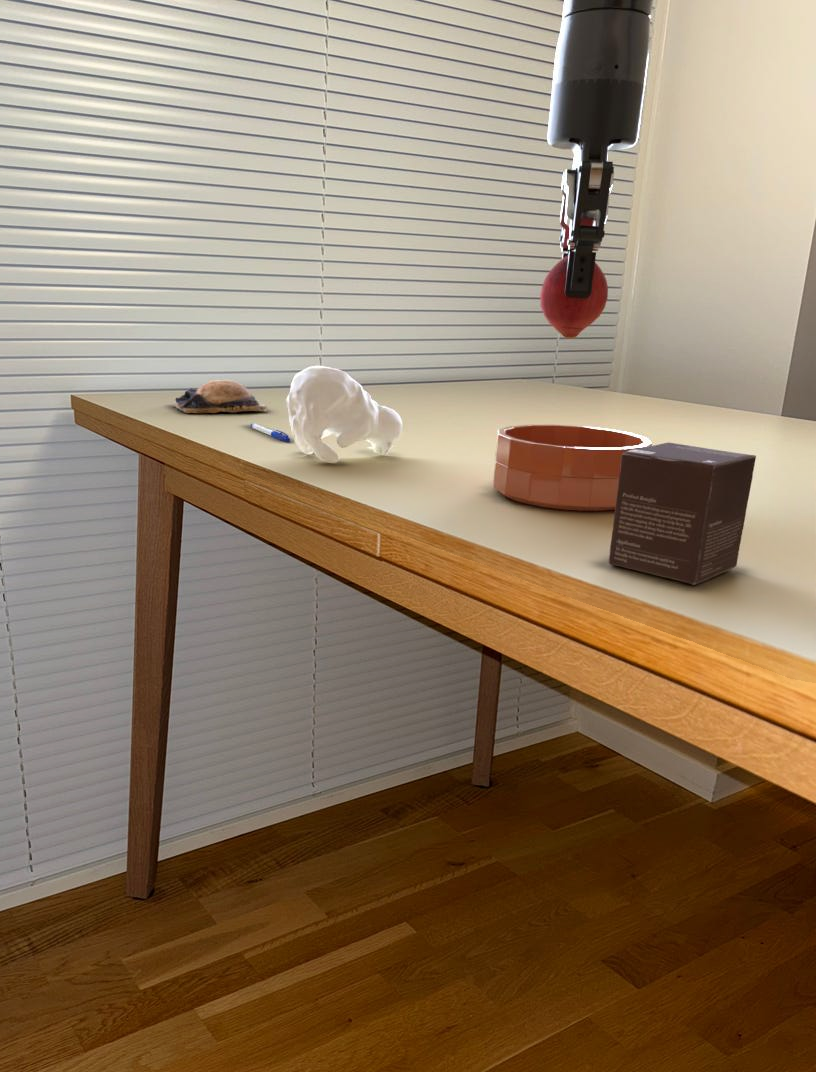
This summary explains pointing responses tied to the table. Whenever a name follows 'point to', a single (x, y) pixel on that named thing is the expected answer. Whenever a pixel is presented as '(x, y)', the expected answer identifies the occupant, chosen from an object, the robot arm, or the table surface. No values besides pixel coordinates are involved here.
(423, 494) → the table surface
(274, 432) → the ballpoint pen
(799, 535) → the table surface
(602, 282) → the onion
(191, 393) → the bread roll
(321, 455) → the white animal figurine
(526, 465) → the bowl
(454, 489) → the table surface
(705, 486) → the box
